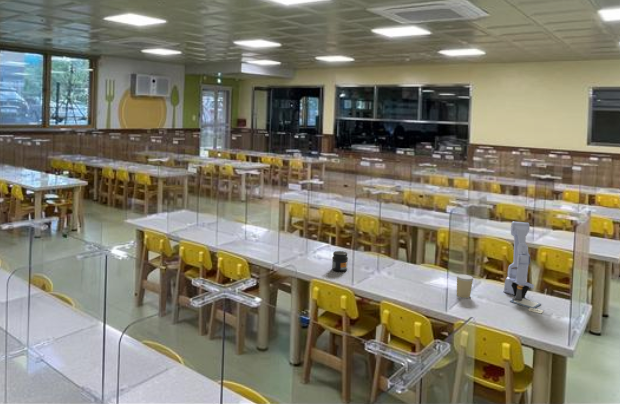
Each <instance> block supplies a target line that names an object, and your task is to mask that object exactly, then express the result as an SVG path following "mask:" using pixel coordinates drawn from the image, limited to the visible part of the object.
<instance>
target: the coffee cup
mask: <svg viewBox="0 0 620 404" xmlns="http://www.w3.org/2000/svg"><path fill="white" fill-rule="evenodd" d="M473 281H474V277H473V276H471V275H469V274H462V273H461V274H458V275H457V276H456V296H457V297H459V298H461V299H469V298H470V297H471V293H472V288H473Z"/></svg>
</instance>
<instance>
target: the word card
mask: <svg viewBox="0 0 620 404" xmlns="http://www.w3.org/2000/svg"><path fill="white" fill-rule="evenodd" d="M527 311H529V312H532V313H536V314H542V313H544V310H542V309H539V308H529V309H528V310H527Z"/></svg>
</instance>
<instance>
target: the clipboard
mask: <svg viewBox="0 0 620 404" xmlns="http://www.w3.org/2000/svg"><path fill="white" fill-rule="evenodd" d="M509 302H510V303H513V304H517V305H520V306H523V307H525V308H526V307H527V308H529V309H530V308H535V309H537V308H538V307H539V306H541V304H542V303H540V302H536V301H534V300H533V301H532V300H530V299H525V298H523V299H522V301H519V300H516V299H515V297H513V298H512V299H511V300H510V301H509Z"/></svg>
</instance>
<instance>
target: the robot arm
mask: <svg viewBox="0 0 620 404" xmlns="http://www.w3.org/2000/svg"><path fill="white" fill-rule="evenodd" d="M529 232H530V223H529V222H523V221H512V222H511V225H510V235H511V236H513V240H514V242H513V262H512V263H511V264H509V265H508V268H507V277H506V278H505V280H504V288H503V292H504V293H507V294H511V295H513V296H514V297H516V290H517V285H521V286H524V287H522V298H523V299H525V297H526V295H527V293H528V291H529V289H531V290H533V289H534V288H535V284H534V283H533V284H532V283H530V282H528V281H527V280H528V274H529V272H528V270H529V265H530V264H531V255H530V253H529V246H528V244H527V243H526V241H527V239H526V237H527V235H528V233H529Z"/></svg>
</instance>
